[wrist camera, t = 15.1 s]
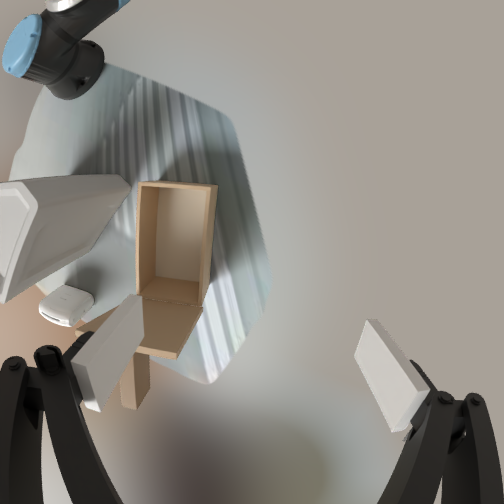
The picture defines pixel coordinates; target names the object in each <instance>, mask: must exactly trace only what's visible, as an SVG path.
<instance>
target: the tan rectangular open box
mask: <svg viewBox="0 0 504 504" xmlns="http://www.w3.org/2000/svg"><path fill="white" fill-rule="evenodd" d="M217 193H218V185H211V184H200V183H188V182H174V181H159V180H157V181H144V182H138V195H137V214H136V292H137V295H138V296H142V298H148V299H154V300H160V301H166V302H173V303H180V304H187V305H194V306H201V307H202V304H203V301H204V298H205V295H206V293H207V290H208V287H209V283H210V269H211V257H212V245H213V234H214V223H215V213H216V203H217Z"/></svg>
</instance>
